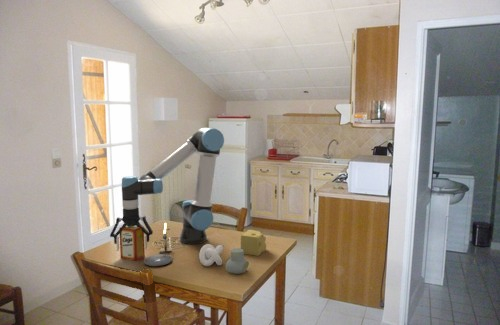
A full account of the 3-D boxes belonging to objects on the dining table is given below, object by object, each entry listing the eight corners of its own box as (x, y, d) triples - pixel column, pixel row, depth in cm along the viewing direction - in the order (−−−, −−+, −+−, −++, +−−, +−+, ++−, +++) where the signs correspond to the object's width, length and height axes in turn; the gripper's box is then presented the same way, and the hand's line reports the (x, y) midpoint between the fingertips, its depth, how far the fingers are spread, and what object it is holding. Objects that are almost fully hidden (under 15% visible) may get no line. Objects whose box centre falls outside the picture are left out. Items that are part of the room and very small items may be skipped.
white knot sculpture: (230, 266, 173) (229, 247, 172) (206, 271, 167) (206, 252, 166) (219, 258, 183) (219, 240, 182) (197, 263, 177) (196, 245, 176)
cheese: (266, 249, 194) (266, 231, 193) (258, 256, 185) (258, 237, 183) (248, 247, 199) (248, 229, 197) (239, 253, 189) (239, 234, 188)
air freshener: (240, 277, 160) (240, 255, 159) (223, 274, 164) (223, 253, 162) (250, 268, 170) (250, 247, 169) (234, 265, 174) (234, 245, 172)
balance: (171, 246, 199) (171, 221, 198) (171, 255, 186) (170, 229, 184) (160, 247, 198) (159, 222, 197) (159, 256, 185) (158, 230, 183)
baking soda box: (144, 256, 185) (143, 225, 183) (136, 260, 179) (134, 229, 177) (129, 253, 189) (128, 223, 187) (120, 258, 183) (119, 227, 181)
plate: (172, 256, 185) (172, 253, 185) (171, 266, 173) (171, 263, 172) (145, 258, 183) (145, 255, 183) (143, 268, 170) (143, 265, 170)
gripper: (157, 204, 187) (158, 244, 190) (105, 206, 182) (107, 248, 185) (156, 208, 180) (157, 249, 182) (102, 210, 175) (104, 253, 178)
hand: (132, 249), depth 184 cm, fingers open, 13 cm apart
